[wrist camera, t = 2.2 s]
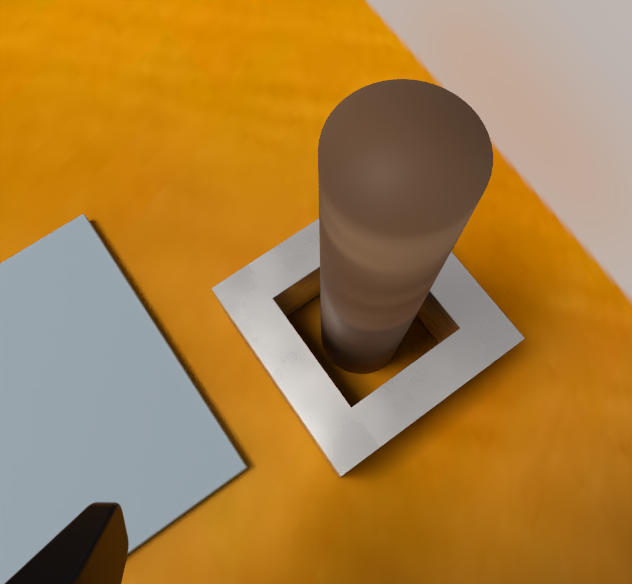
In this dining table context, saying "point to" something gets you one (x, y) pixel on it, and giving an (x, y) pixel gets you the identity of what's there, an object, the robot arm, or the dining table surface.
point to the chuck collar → (313, 382)
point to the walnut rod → (391, 210)
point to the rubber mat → (93, 402)
